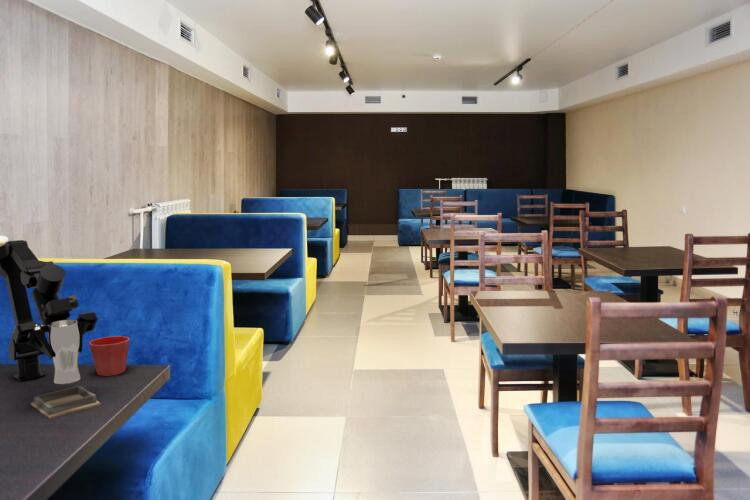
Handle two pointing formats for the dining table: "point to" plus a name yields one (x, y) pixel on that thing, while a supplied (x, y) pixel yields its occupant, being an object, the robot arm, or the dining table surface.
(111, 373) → the flower pot
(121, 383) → the dining table surface
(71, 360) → the beer glass
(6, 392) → the dining table surface
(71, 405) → the tray
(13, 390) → the dining table surface
